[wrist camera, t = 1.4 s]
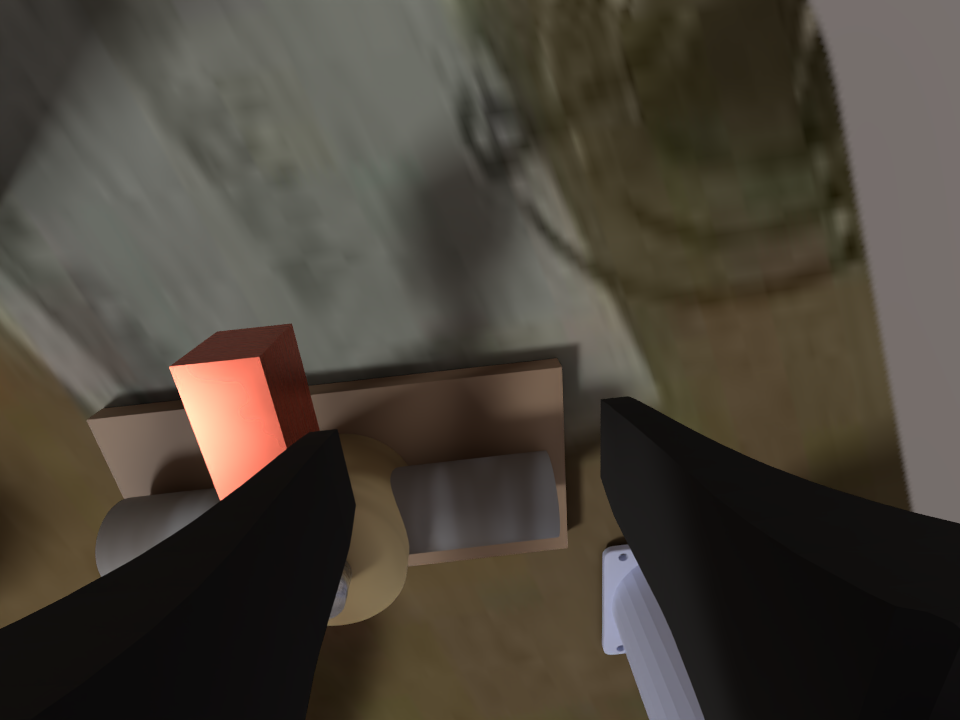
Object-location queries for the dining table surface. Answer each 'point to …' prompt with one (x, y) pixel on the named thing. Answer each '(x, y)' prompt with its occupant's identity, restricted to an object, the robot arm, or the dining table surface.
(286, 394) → the valve lever
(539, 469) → the valve stand
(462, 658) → the dining table surface
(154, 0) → the dining table surface
